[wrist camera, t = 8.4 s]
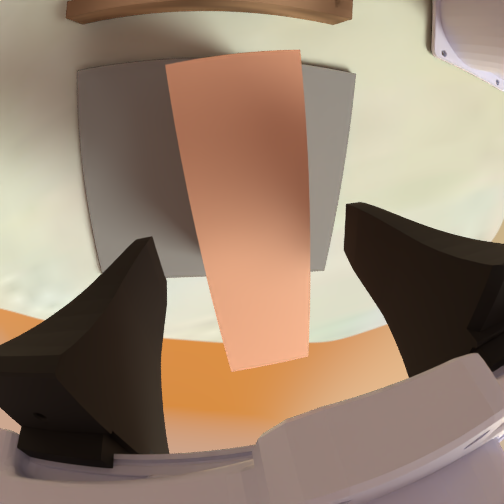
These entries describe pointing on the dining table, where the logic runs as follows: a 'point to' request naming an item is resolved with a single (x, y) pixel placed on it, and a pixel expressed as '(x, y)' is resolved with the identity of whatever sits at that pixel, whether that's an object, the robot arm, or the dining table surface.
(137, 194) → the mat
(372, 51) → the dining table surface
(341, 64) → the dining table surface
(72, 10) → the rack
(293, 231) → the salmon orange block
